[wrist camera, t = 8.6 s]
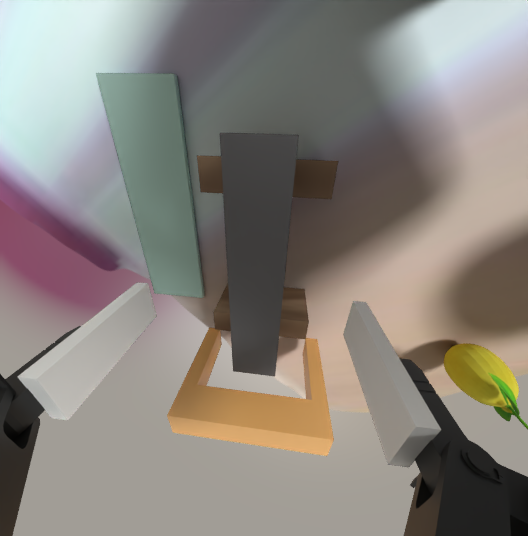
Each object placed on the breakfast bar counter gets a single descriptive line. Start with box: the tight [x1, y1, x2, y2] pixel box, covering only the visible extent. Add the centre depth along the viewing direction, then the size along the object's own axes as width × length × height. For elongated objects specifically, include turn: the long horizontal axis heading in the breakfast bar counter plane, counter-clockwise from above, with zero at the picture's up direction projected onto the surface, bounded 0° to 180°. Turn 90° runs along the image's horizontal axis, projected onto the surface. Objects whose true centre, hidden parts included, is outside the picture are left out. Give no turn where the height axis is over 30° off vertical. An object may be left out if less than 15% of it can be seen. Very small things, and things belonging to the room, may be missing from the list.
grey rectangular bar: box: [220, 133, 298, 376], centre depth 16 cm, size 19×4×4 cm, turn 178°
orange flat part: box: [167, 328, 334, 456], centre depth 23 cm, size 3×14×11 cm, turn 88°
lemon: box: [444, 344, 528, 429], centre depth 23 cm, size 7×6×10 cm
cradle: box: [197, 156, 338, 339], centre depth 21 cm, size 17×10×6 cm, turn 178°
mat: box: [96, 73, 205, 298], centre depth 23 cm, size 23×7×1 cm, turn 178°
